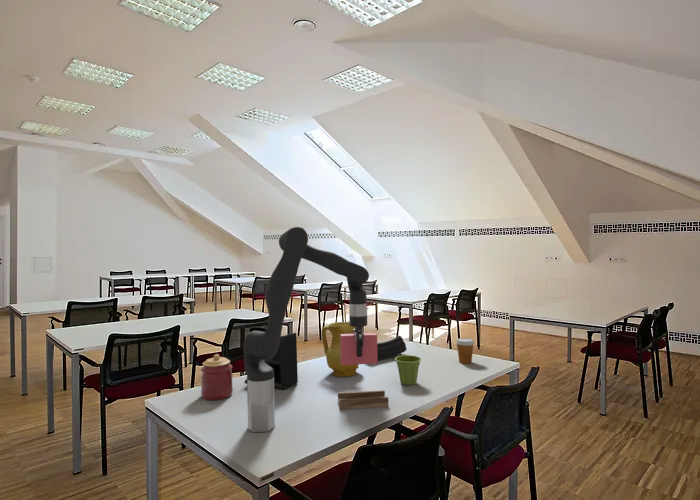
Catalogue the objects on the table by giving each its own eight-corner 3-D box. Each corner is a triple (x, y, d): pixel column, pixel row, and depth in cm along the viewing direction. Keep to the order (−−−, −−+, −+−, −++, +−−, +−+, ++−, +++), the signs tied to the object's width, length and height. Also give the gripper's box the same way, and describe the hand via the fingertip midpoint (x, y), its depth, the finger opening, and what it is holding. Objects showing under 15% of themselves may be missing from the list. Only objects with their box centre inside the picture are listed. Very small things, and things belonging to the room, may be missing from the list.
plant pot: (390, 383, 201) (389, 358, 200) (406, 377, 209) (405, 353, 209) (411, 389, 192) (410, 363, 192) (426, 382, 201) (426, 358, 201)
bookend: (244, 382, 205) (243, 332, 205) (260, 376, 215) (259, 328, 214) (283, 390, 193) (282, 337, 193) (298, 383, 202) (297, 332, 202)
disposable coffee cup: (454, 359, 239) (454, 337, 239) (472, 359, 239) (472, 337, 239) (458, 364, 230) (457, 341, 230) (476, 364, 229) (476, 341, 229)
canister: (224, 388, 197) (223, 349, 197) (238, 395, 187) (237, 354, 187) (196, 395, 189) (195, 354, 188) (208, 403, 179) (208, 359, 179)
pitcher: (342, 380, 205) (340, 325, 206) (318, 373, 219) (317, 323, 221) (369, 373, 216) (367, 322, 218) (344, 368, 231) (343, 320, 232)
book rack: (388, 406, 172) (388, 397, 172) (339, 409, 170) (339, 400, 170) (384, 398, 181) (384, 390, 181) (338, 401, 179) (337, 392, 179)
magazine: (362, 347, 233) (401, 324, 250) (358, 346, 235) (397, 323, 253) (370, 377, 236) (407, 352, 253) (366, 375, 238) (403, 351, 256)
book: (377, 363, 184) (377, 334, 184) (341, 365, 182) (341, 336, 182) (375, 361, 188) (375, 332, 188) (340, 362, 186) (340, 334, 186)
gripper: (369, 316, 178) (370, 359, 178) (364, 311, 192) (365, 351, 192) (351, 317, 177) (351, 359, 177) (347, 312, 191) (348, 351, 191)
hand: (358, 355), depth 185 cm, fingers closed on book, 4 cm apart
